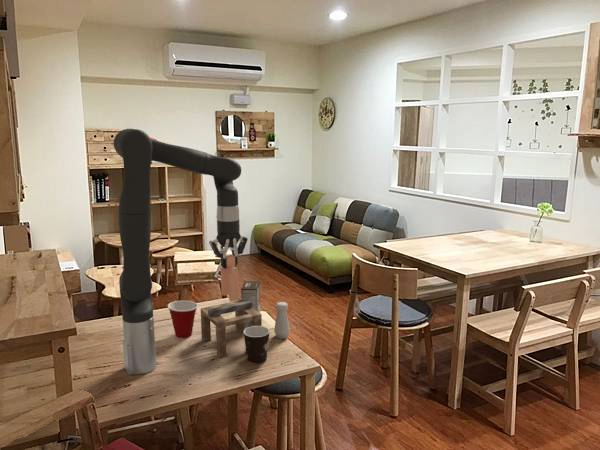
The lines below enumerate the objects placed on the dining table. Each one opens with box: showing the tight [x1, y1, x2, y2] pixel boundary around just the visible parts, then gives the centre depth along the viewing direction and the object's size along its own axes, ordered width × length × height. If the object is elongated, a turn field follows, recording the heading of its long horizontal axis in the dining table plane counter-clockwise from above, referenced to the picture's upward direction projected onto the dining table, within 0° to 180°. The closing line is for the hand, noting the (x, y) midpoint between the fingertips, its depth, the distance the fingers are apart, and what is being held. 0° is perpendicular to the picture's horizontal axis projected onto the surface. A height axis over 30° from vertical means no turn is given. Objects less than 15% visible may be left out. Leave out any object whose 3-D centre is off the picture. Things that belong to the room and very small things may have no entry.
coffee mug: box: [243, 325, 271, 365], centre depth 163 cm, size 12×9×10 cm
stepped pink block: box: [220, 253, 240, 302], centre depth 172 cm, size 3×8×15 cm, turn 32°
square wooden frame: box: [200, 299, 263, 358], centre depth 176 cm, size 16×16×14 cm
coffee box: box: [240, 280, 261, 329], centre depth 192 cm, size 9×6×16 cm
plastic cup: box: [167, 300, 199, 339], centre depth 182 cm, size 11×11×12 cm
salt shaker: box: [273, 301, 291, 340], centre depth 181 cm, size 6×6×13 cm
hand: (229, 267), depth 171 cm, fingers closed on stepped pink block, 3 cm apart
